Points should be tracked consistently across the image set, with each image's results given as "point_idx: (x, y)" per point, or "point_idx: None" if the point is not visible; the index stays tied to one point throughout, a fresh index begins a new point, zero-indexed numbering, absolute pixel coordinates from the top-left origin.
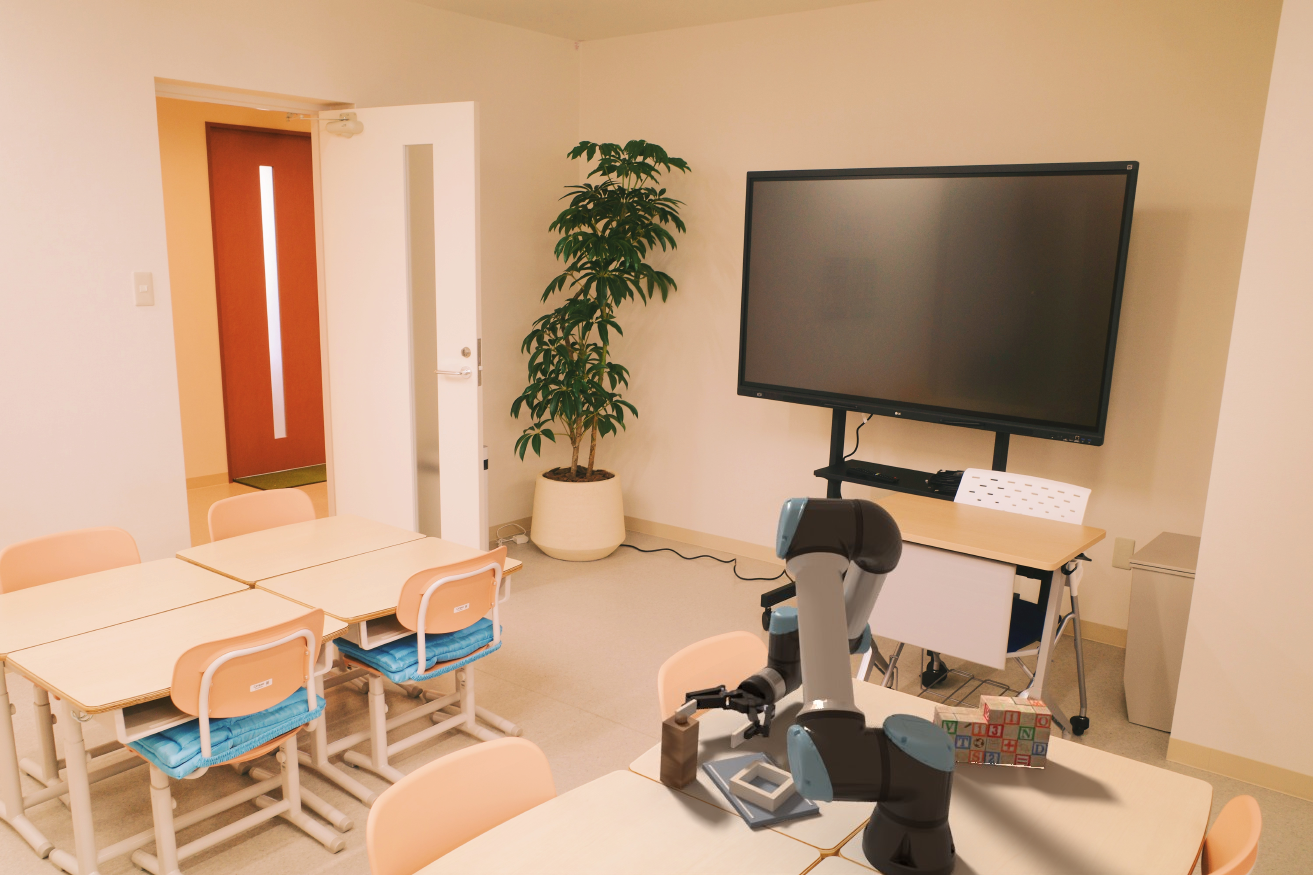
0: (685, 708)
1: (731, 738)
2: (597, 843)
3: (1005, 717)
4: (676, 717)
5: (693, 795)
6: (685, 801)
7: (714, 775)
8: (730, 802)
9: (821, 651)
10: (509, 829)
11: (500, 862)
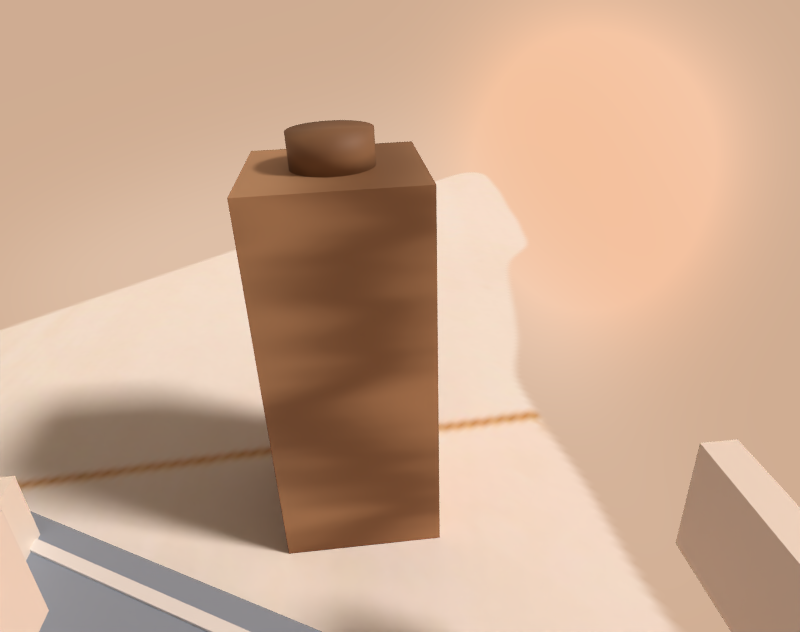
0: (782, 563)
1: (17, 551)
2: None
3: None
4: (345, 123)
5: (224, 462)
6: (233, 422)
7: (180, 588)
8: None
9: None
10: (495, 207)
11: None
